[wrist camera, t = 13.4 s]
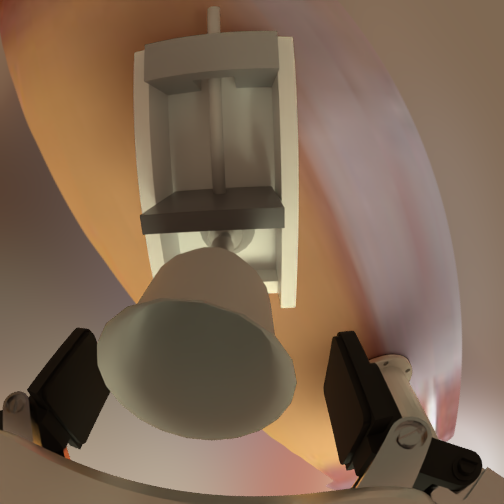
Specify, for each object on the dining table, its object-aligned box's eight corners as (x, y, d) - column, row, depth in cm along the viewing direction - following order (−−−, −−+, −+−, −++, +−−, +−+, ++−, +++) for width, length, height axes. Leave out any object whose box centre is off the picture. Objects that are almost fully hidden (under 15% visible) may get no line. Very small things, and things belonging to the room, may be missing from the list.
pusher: (271, 199, 23) (284, 228, 15) (176, 204, 23) (142, 234, 15) (264, 19, 17) (272, -32, 9) (171, 27, 17) (139, -15, 9)
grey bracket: (286, 275, 28) (297, 314, 21) (175, 278, 28) (156, 316, 21) (282, 60, 20) (294, 31, 13) (158, 70, 20) (129, 48, 13)
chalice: (255, 271, 26) (265, 447, 10) (185, 258, 26) (112, 418, 9) (273, 197, 24) (330, 320, 7) (196, 182, 23) (83, 272, 6)
